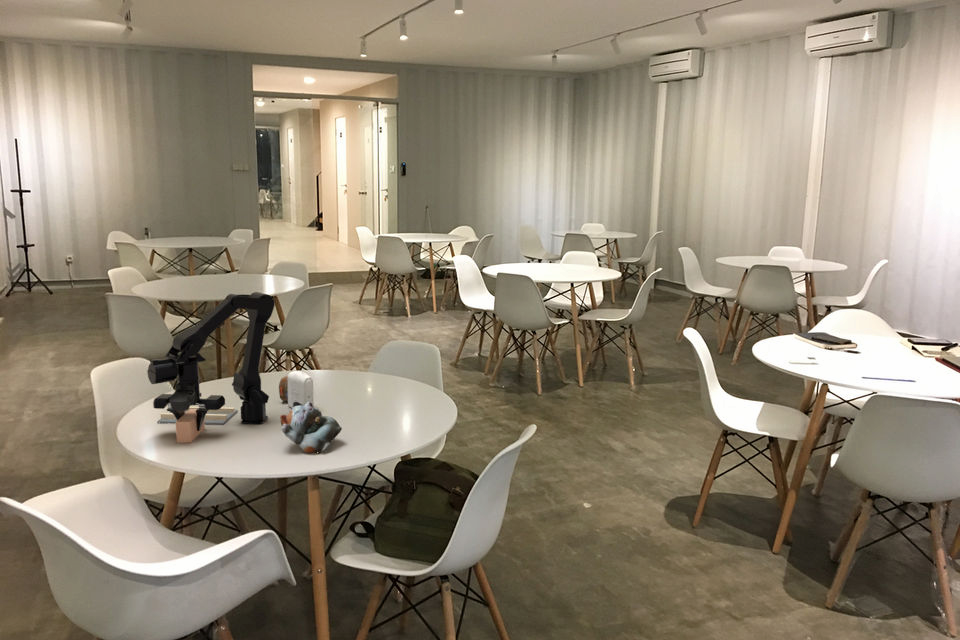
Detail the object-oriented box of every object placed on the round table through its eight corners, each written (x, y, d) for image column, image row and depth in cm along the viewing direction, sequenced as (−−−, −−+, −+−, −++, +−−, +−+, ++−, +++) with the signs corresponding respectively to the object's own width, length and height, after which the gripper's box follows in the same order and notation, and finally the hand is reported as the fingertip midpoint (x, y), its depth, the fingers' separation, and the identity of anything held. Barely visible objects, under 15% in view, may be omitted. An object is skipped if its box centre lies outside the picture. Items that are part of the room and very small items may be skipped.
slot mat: (237, 411, 242) (237, 405, 242) (223, 424, 229) (223, 418, 229) (175, 410, 242) (174, 403, 242) (157, 423, 230) (156, 416, 229)
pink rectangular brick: (204, 428, 226) (203, 409, 225) (191, 442, 214) (190, 422, 213) (191, 428, 226) (190, 409, 225) (176, 442, 214) (175, 421, 213)
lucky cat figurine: (318, 457, 204) (291, 414, 201) (290, 465, 211) (263, 423, 208) (350, 427, 216) (325, 386, 213) (323, 435, 223) (298, 395, 220)
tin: (286, 404, 251) (285, 380, 249) (277, 404, 251) (276, 379, 250) (305, 392, 265) (305, 369, 264) (297, 391, 266) (296, 368, 264)
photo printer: (315, 411, 244) (314, 373, 242) (304, 414, 241) (303, 376, 239) (297, 404, 251) (296, 367, 249) (286, 406, 248) (285, 370, 246)
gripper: (142, 384, 209) (146, 439, 212) (210, 386, 209) (213, 440, 212) (160, 374, 220) (163, 426, 223) (224, 376, 220) (226, 427, 223)
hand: (191, 430), depth 220 cm, fingers closed on pink rectangular brick, 4 cm apart
